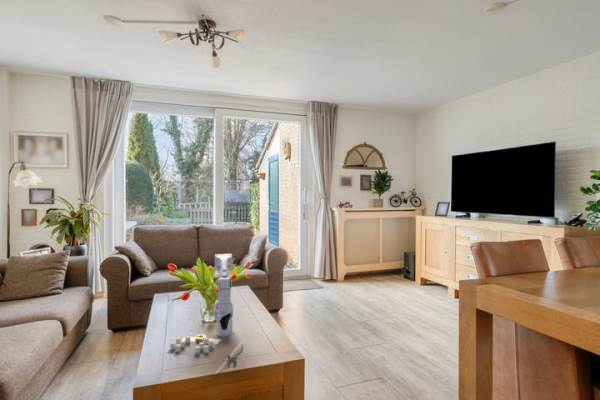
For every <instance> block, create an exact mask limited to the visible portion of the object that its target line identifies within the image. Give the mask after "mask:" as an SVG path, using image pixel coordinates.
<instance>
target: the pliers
mask: <svg viewBox="0 0 600 400" xmlns="http://www.w3.org/2000/svg"><path fill="white" fill-rule="evenodd" d="M240 347H241V350H240V351H239V352H238V353H236V354H235V355H234V356H233V357H232V356H231V355H228V356H227V358H228V359H227V362H226V366H227V368H230V366H231V363H232V364H233V367H234V368H235V367H236V365H237V364H238V363H237V357H239V355H240V354H241V353H242V352H243V350H244V346H243V345H240Z"/></svg>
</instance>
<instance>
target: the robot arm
mask: <svg viewBox="0 0 600 400" xmlns="http://www.w3.org/2000/svg"><path fill="white" fill-rule="evenodd" d="M232 267H233V254H232V253H219V254H216V253H215V254H214V270H215V271H217V272H218V279H217V290H218V301H217V302H216V303H214V310H213V312H214V313H213V314H214V317H213V318H214V320H216V336H218V337H228V336H230V335H231V334H234V332H235V331H234V330H233V322H234V321H233V317H234V305H233V302H232V301H231V295H232V294H231V291H232V285H233V283H232V281H233V280H232V276H231V272H230V271H231V270H232Z"/></svg>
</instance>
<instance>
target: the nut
mask: <svg viewBox="0 0 600 400" xmlns="http://www.w3.org/2000/svg"><path fill="white" fill-rule="evenodd" d="M206 335H207V334H204V333H203V334H202V333H201V334H200V333H199V334H197V335H195V337H196V339H195V340H196V342H197V343H201V342H204V338H207V336H206Z"/></svg>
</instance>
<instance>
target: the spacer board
mask: <svg viewBox="0 0 600 400" xmlns="http://www.w3.org/2000/svg"><path fill="white" fill-rule="evenodd" d="M195 339H196V336H190V335H186V336H185V337H183V338H182V337H177V338H176V339H175V342H174V341H172V342H170V344H169V345H170V346H169V347H170V348H169V349H168V351H166V354H175V355H185V356H192V357H203V358H204V357H205V358H206V357H207V356H208V355H209V354H210V353H211V352H212V351H213V350H214V349H215V347H216V346H217V345H218V344H219V343H220V342H221V341H222V339H220V338H210V337H206V338H204V342H201V343H197V342H196V340H195Z"/></svg>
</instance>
